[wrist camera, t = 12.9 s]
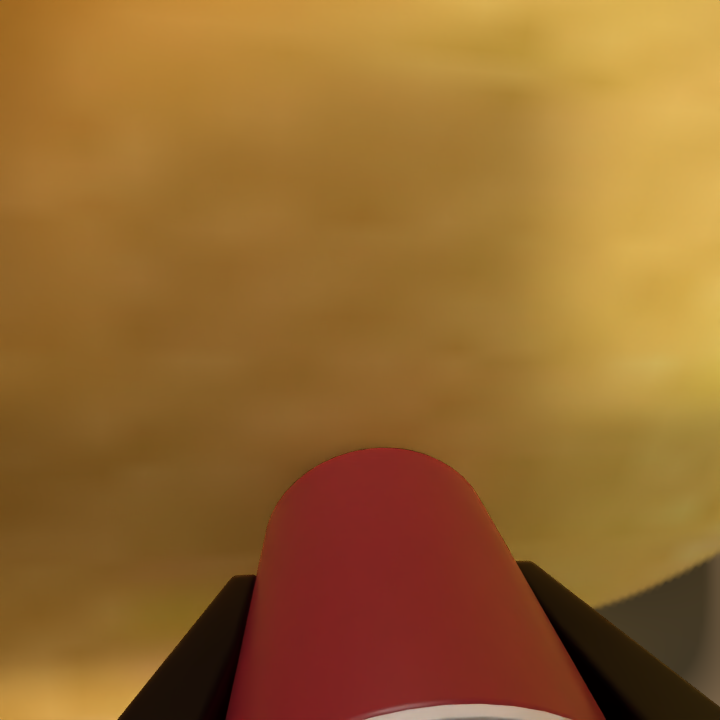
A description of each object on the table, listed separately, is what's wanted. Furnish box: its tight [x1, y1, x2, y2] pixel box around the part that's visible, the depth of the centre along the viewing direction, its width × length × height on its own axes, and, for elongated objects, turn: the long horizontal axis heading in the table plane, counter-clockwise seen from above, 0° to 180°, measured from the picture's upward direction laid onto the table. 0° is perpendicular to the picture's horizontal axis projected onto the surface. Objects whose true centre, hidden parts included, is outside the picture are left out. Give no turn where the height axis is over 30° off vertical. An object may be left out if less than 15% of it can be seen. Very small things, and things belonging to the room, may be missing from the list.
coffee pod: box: [225, 448, 606, 720], centre depth 6 cm, size 5×5×4 cm
